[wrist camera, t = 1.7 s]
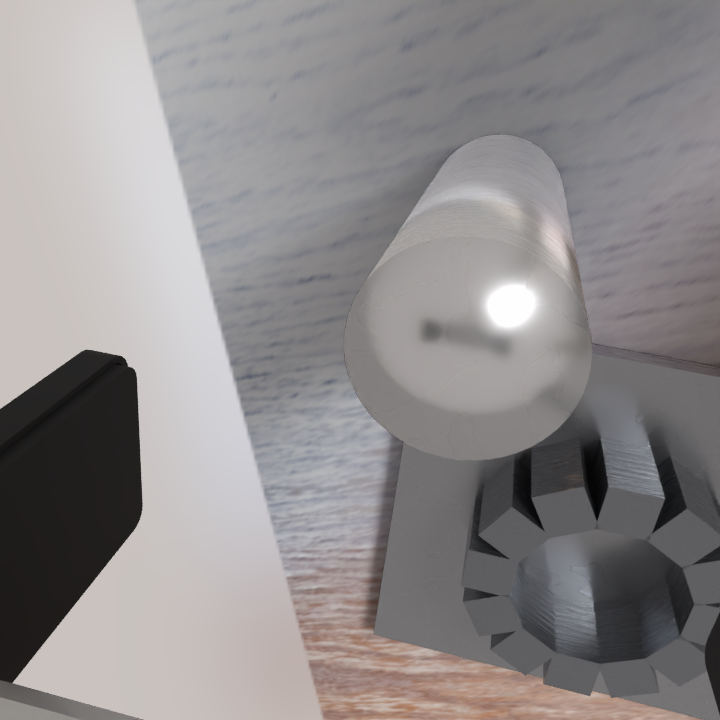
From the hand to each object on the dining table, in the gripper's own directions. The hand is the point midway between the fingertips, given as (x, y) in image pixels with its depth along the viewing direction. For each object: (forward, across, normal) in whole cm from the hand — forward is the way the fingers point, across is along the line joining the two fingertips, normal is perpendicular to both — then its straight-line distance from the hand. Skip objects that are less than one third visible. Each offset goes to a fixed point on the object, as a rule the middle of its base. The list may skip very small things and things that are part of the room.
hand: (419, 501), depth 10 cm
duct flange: (+19, -7, +13) cm, 24 cm away
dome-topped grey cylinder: (+18, 0, -1) cm, 19 cm away
